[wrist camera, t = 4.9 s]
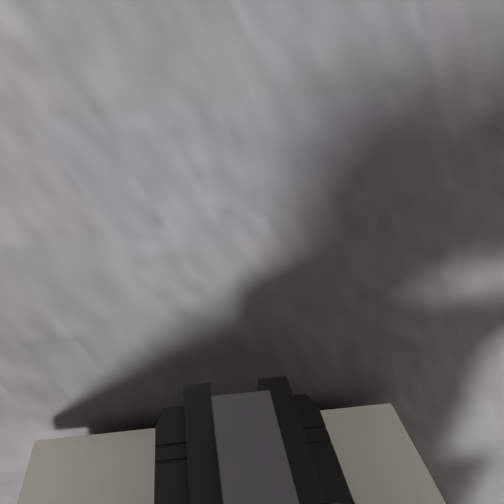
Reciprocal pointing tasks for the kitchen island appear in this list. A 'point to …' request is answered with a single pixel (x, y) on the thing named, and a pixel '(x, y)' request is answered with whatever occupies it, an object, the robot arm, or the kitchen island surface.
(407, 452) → the white drawer
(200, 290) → the kitchen island surface
